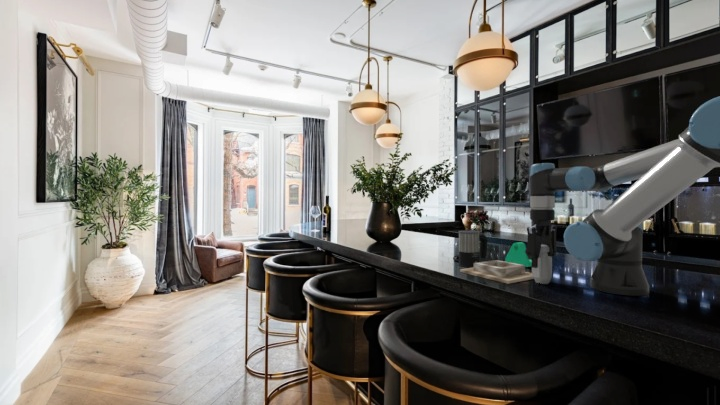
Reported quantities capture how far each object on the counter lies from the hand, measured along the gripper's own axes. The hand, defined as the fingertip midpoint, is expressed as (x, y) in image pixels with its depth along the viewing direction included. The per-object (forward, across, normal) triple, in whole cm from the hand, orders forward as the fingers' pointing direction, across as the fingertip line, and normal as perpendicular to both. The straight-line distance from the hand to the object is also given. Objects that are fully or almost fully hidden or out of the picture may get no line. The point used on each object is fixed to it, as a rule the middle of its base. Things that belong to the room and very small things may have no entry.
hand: (541, 275), depth 122 cm
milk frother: (+3, -4, -38) cm, 39 cm away
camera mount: (+3, -21, -22) cm, 31 cm away
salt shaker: (+3, 0, 0) cm, 3 cm away
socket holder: (+2, +2, -16) cm, 16 cm away
